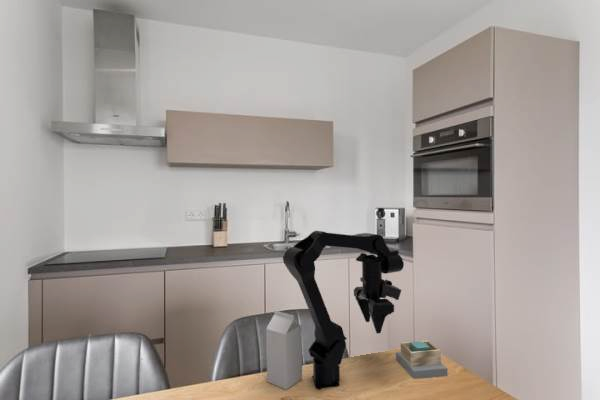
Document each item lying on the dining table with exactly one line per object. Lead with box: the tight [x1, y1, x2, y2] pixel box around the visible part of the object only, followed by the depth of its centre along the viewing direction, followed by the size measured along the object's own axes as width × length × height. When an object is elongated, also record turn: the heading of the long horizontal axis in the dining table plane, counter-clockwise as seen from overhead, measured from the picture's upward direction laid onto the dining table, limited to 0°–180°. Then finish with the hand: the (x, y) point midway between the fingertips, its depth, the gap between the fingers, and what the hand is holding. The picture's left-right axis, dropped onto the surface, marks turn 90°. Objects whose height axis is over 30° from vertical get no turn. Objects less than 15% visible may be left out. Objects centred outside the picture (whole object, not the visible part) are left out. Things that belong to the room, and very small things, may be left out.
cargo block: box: [410, 341, 430, 352], centre depth 102 cm, size 4×4×4 cm
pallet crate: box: [400, 340, 442, 367], centre depth 102 cm, size 9×7×4 cm
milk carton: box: [265, 310, 303, 390], centre depth 96 cm, size 7×7×19 cm
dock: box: [395, 351, 448, 380], centre depth 102 cm, size 10×12×2 cm
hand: (372, 327), depth 103 cm, fingers open, 9 cm apart
